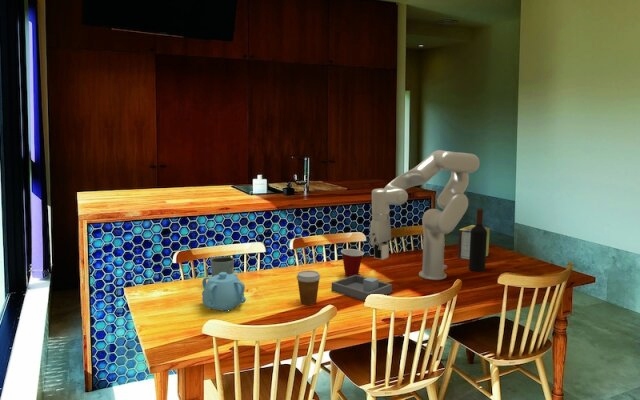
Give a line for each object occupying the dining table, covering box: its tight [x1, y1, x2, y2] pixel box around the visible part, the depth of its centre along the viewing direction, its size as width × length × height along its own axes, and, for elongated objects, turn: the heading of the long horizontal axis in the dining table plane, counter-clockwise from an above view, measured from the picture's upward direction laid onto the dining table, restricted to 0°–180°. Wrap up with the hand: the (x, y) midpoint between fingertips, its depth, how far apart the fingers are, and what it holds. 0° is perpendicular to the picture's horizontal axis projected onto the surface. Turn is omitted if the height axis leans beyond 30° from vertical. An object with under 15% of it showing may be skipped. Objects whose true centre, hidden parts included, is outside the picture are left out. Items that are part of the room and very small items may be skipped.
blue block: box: [363, 276, 380, 292], centre depth 220 cm, size 4×4×6 cm
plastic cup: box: [340, 248, 365, 278], centre depth 245 cm, size 11×11×12 cm
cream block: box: [373, 243, 389, 261], centre depth 236 cm, size 4×4×6 cm
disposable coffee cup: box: [296, 270, 321, 306], centre depth 210 cm, size 10×10×12 cm
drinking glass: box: [209, 256, 235, 277], centre depth 231 cm, size 10×10×12 cm
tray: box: [331, 274, 393, 302], centre depth 224 cm, size 16×20×4 cm
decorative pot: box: [201, 272, 247, 312], centre depth 206 cm, size 16×16×14 cm
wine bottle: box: [468, 208, 487, 273], centre depth 254 cm, size 8×8×30 cm
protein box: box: [457, 224, 491, 261], centre depth 279 cm, size 10×15×16 cm
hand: (381, 256), depth 236 cm, fingers closed on cream block, 4 cm apart
